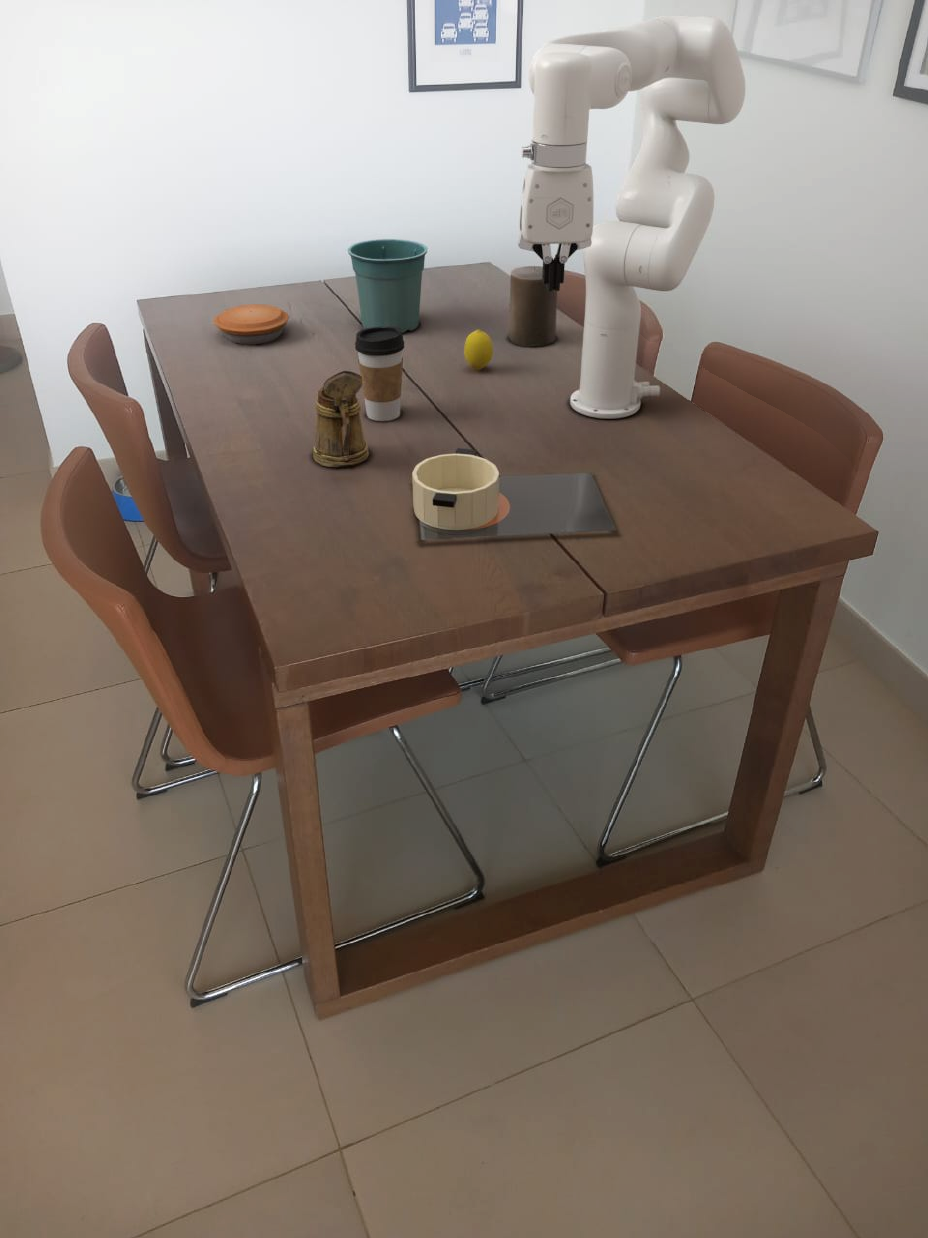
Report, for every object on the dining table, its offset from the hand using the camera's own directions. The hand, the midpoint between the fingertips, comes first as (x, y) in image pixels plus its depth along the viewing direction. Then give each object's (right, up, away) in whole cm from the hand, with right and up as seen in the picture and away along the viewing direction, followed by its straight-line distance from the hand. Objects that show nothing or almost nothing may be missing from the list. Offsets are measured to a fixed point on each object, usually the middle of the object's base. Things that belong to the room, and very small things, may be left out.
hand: (552, 287), depth 149 cm
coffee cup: (-28, -13, +29) cm, 42 cm away
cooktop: (-6, -33, +1) cm, 34 cm away
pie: (-58, +10, +61) cm, 85 cm away
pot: (-14, -33, -1) cm, 36 cm away
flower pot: (-29, +14, +66) cm, 73 cm away
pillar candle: (+1, +9, +59) cm, 60 cm away
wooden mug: (-33, -24, +13) cm, 43 cm away
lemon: (-10, -1, +45) cm, 47 cm away
